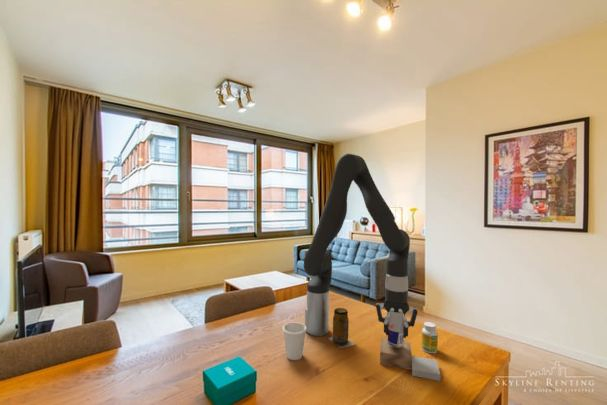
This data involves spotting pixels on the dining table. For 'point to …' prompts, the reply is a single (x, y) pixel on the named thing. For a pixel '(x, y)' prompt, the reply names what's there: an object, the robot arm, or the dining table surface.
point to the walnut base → (396, 355)
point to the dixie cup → (294, 340)
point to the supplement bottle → (429, 338)
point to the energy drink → (396, 330)
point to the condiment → (340, 328)
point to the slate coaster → (425, 368)
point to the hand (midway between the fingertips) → (395, 335)
